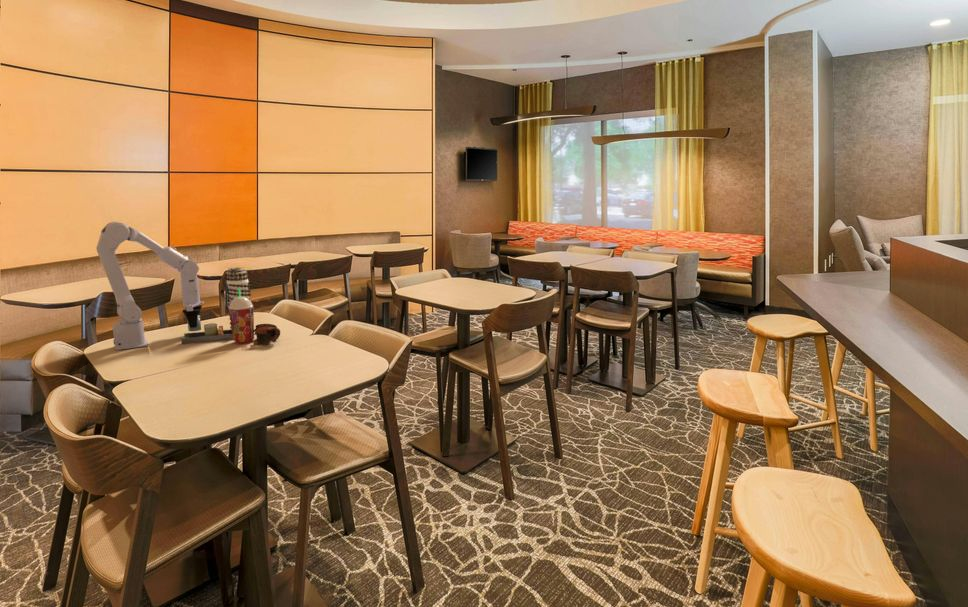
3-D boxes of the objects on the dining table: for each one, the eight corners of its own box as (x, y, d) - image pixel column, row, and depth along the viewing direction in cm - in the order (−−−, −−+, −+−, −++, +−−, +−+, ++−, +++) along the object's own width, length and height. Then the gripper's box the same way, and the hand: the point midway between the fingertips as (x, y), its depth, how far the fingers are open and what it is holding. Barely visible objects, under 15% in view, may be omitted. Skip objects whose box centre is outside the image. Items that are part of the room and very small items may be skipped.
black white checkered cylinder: (259, 329, 217) (254, 267, 212) (238, 334, 209) (232, 270, 204) (245, 326, 221) (240, 266, 216) (225, 331, 214) (218, 268, 209)
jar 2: (206, 340, 198) (204, 326, 197) (204, 338, 201) (202, 324, 200) (219, 339, 200) (218, 325, 199) (217, 336, 204) (215, 322, 203)
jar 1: (189, 331, 203) (187, 317, 202) (187, 329, 207) (186, 315, 206) (202, 330, 206) (200, 316, 205) (200, 327, 209) (198, 314, 208)
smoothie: (261, 340, 200) (256, 287, 196) (249, 346, 192) (244, 291, 188) (239, 339, 201) (234, 287, 197) (227, 345, 193) (221, 291, 189)
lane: (181, 345, 194) (180, 333, 193) (185, 339, 201) (183, 328, 200) (235, 340, 200) (234, 328, 199) (237, 335, 207) (235, 324, 207)
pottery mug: (245, 347, 193) (247, 325, 196) (265, 352, 201) (267, 331, 204) (270, 341, 188) (272, 319, 191) (290, 347, 197) (291, 325, 199)
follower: (218, 339, 199) (217, 329, 198) (220, 335, 204) (219, 325, 204) (222, 339, 199) (221, 329, 199) (223, 335, 205) (222, 325, 204)
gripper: (200, 293, 198) (203, 329, 201) (204, 287, 211) (208, 321, 214) (178, 294, 195) (182, 331, 198) (184, 288, 209) (188, 322, 211)
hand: (194, 326), depth 206 cm, fingers closed on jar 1, 4 cm apart
